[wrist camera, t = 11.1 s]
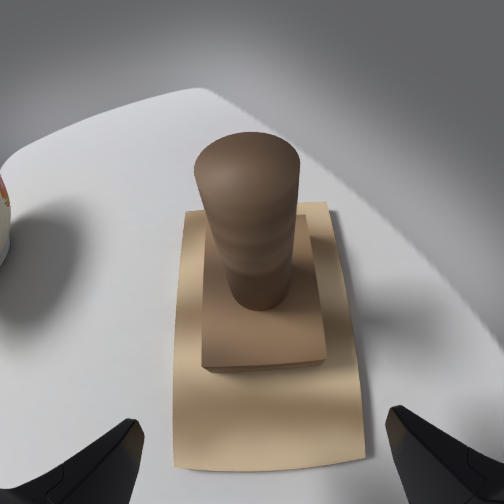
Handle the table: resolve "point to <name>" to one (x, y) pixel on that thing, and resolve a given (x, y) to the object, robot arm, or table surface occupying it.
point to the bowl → (4, 222)
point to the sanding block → (256, 259)
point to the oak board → (266, 378)
